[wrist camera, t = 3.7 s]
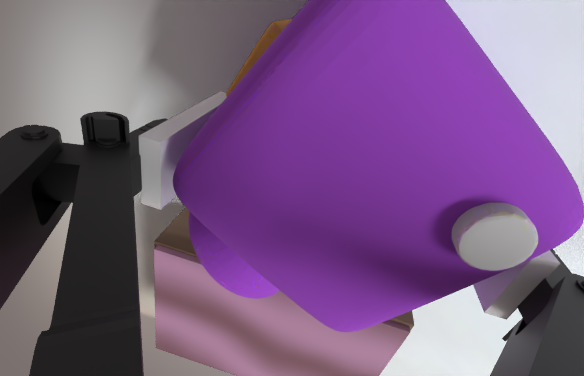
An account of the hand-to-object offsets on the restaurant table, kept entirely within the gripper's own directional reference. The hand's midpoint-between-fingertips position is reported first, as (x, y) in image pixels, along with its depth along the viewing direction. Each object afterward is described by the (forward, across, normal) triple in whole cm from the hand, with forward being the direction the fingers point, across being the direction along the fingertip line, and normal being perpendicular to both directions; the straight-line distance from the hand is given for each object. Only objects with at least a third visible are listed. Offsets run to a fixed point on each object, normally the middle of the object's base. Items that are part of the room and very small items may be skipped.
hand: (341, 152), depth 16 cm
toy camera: (+2, 0, 0) cm, 2 cm away
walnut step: (+2, -1, -14) cm, 14 cm away
